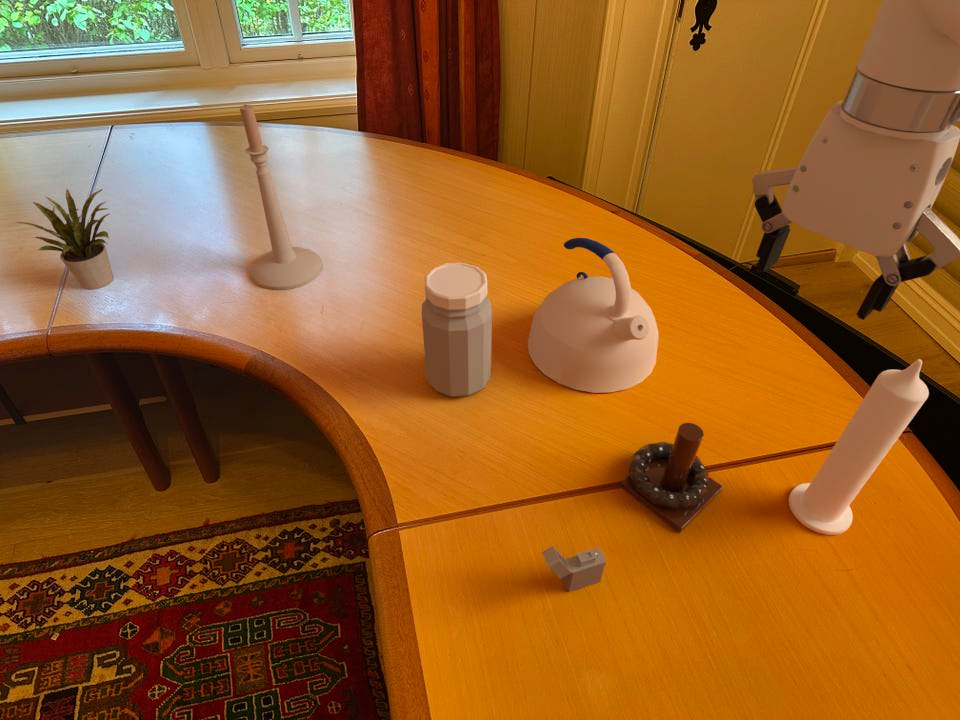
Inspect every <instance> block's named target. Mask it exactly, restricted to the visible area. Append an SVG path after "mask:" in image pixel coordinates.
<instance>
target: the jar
mask: <svg viewBox="0 0 960 720" xmlns="http://www.w3.org/2000/svg"><path fill="white" fill-rule="evenodd" d="M424 295H425V300H424V301H423V302H422V303H421V323H422V325H421V326H422V336H423V350H424V362H425V376H426V381H427V382H428V383H429V385H430V386H431V387H432V389H434V390H435V391H436V392H438V393H440V394H443V395H445V396H448V397H451V398H462V397H463V398H465V397H469V396H471V395H473V394H475V393H477V392H480V391H481V390H483V389H484V388H485V386H487V383H488V382H489V380H490V379H491V377H492V341H493V339H492V338H493V334H492V333H493V329H492V328H493V309H492V302H491V300H490V299H488V277H487V274H486V273H485V271H483V270H482V269H481V268H479V267H478V266H477V265H473V264H469V263H466V262H446V263H443V264H440V265H438V266H436V267H432V269H430V270H429V272H427V273H426V275H425V276H424Z"/></svg>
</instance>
